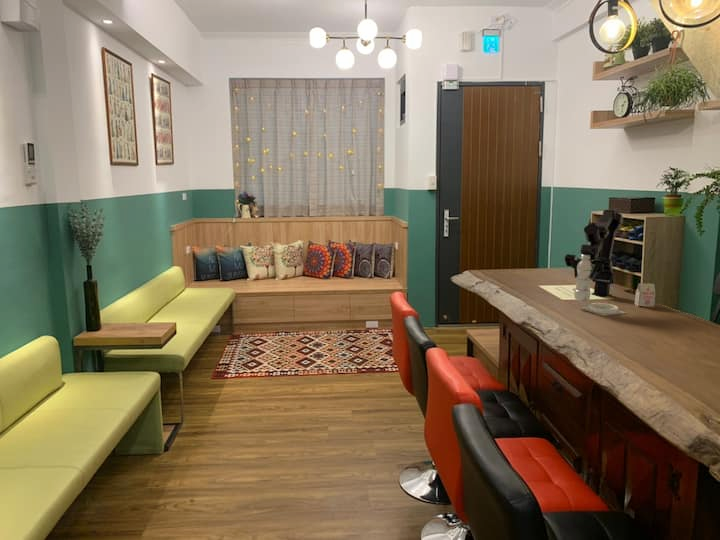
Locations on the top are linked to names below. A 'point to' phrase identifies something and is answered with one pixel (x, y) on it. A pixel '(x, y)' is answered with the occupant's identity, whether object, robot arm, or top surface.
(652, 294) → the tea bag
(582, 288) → the plastic bottle
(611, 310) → the bottle holder
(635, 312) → the top surface
